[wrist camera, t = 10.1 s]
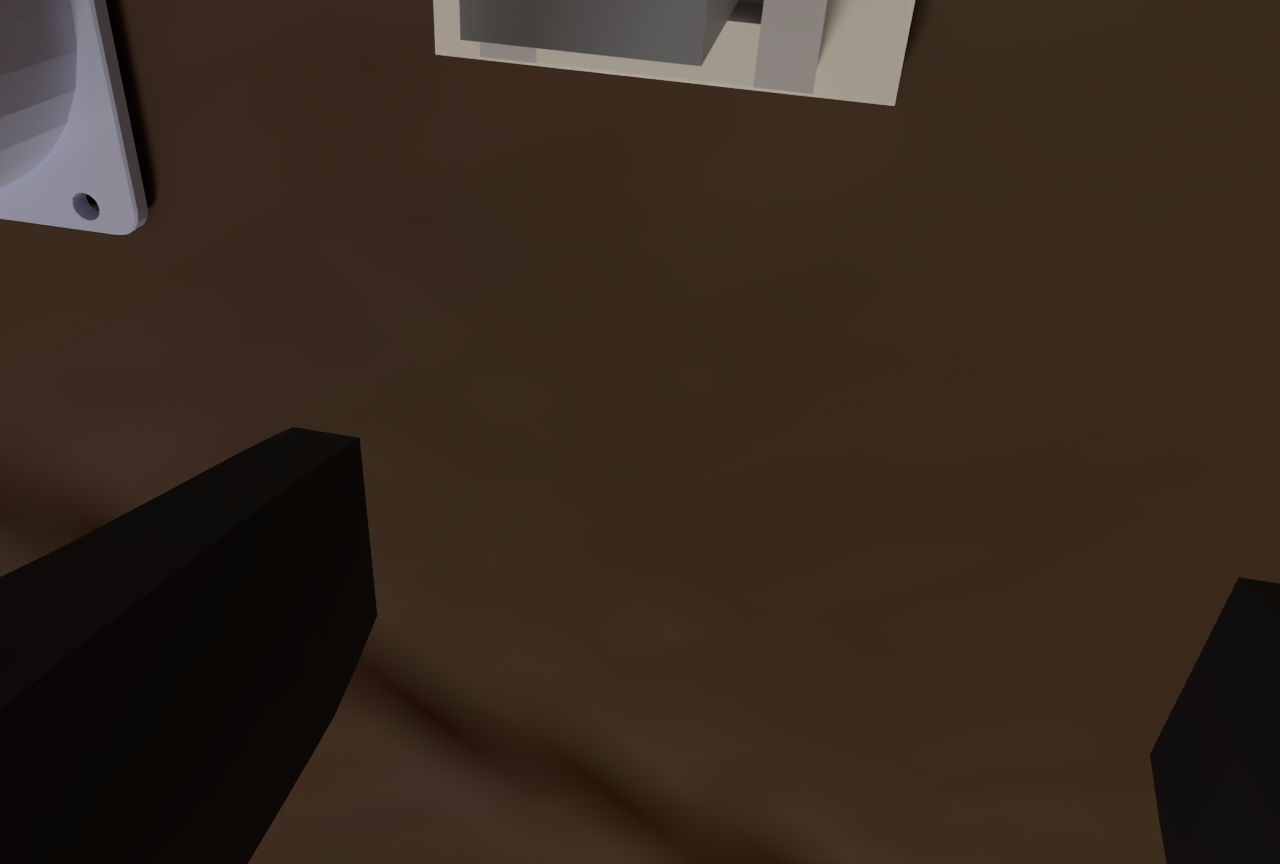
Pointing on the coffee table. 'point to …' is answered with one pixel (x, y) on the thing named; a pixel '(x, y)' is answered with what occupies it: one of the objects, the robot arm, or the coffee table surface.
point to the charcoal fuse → (601, 26)
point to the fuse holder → (750, 49)
